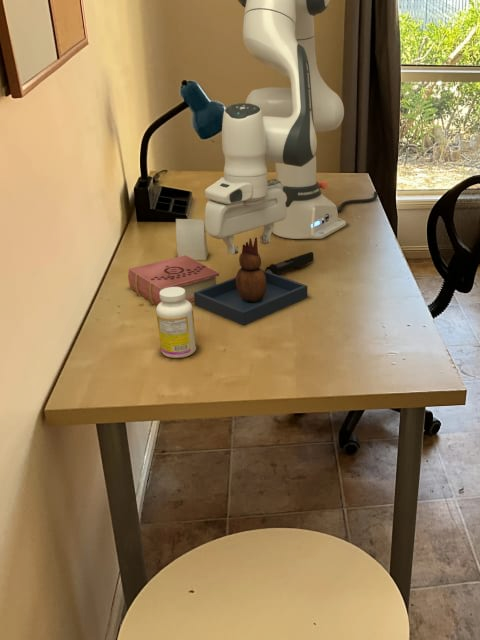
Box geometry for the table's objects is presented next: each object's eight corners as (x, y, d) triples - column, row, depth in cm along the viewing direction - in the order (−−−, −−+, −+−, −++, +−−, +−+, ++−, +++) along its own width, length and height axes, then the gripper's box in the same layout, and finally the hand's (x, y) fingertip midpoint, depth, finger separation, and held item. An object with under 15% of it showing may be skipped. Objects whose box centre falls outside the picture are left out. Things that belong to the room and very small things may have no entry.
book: (127, 290, 171) (125, 269, 169) (187, 274, 181) (185, 255, 179) (159, 310, 162) (157, 289, 160) (220, 292, 172) (219, 272, 170)
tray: (259, 280, 180) (259, 268, 179) (307, 297, 172) (307, 285, 171) (194, 305, 166) (193, 292, 164) (243, 325, 158) (243, 312, 157)
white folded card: (205, 260, 190) (202, 222, 185) (178, 259, 189) (174, 221, 185) (207, 254, 193) (204, 217, 189) (180, 254, 192) (177, 216, 188)
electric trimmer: (317, 264, 191) (317, 253, 190) (272, 280, 180) (272, 268, 179) (307, 261, 193) (307, 249, 192) (262, 276, 182) (261, 264, 181)
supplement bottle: (175, 341, 150) (169, 281, 144) (203, 348, 148) (198, 288, 142) (153, 355, 145) (146, 294, 139) (182, 362, 143) (176, 301, 137)
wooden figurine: (271, 300, 169) (269, 237, 162) (249, 307, 165) (246, 242, 158) (254, 291, 173) (251, 229, 166) (232, 297, 169) (228, 234, 162)
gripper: (271, 174, 166) (273, 234, 172) (198, 191, 151) (203, 256, 157) (292, 179, 163) (293, 240, 169) (219, 198, 148) (223, 263, 154)
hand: (249, 248), depth 163 cm, fingers open, 8 cm apart
